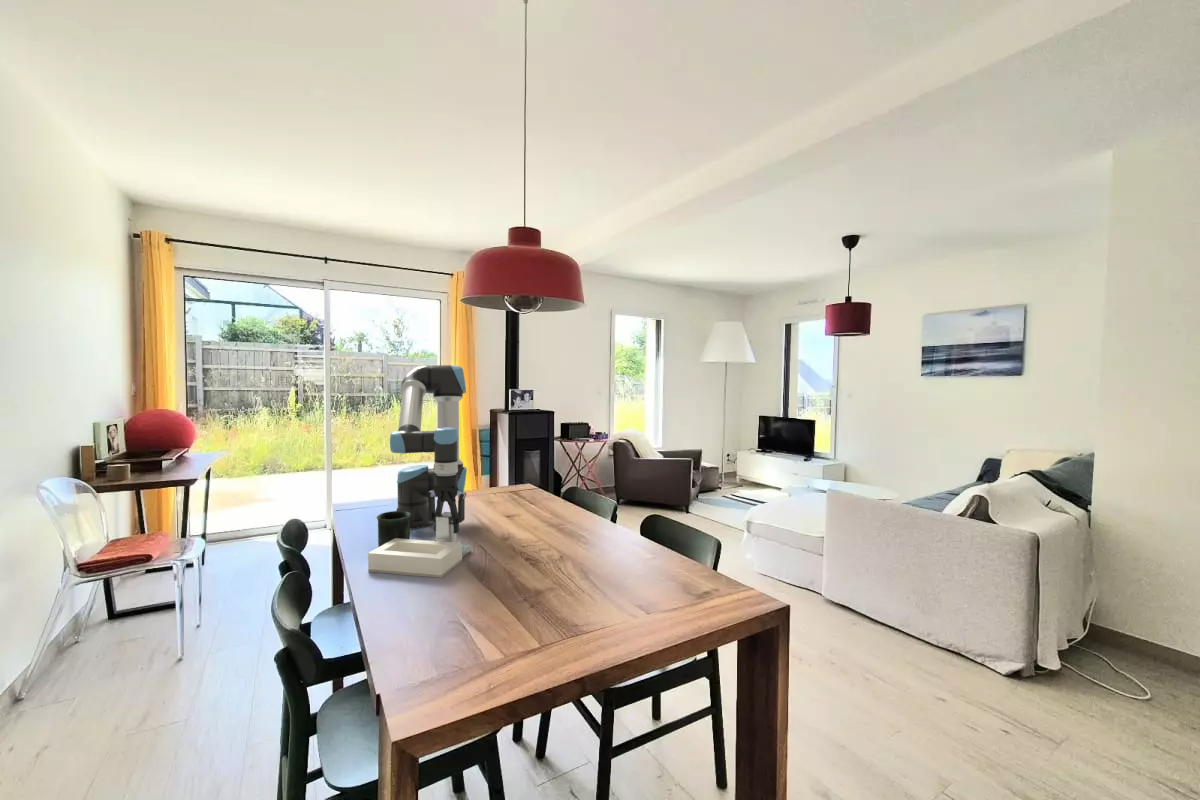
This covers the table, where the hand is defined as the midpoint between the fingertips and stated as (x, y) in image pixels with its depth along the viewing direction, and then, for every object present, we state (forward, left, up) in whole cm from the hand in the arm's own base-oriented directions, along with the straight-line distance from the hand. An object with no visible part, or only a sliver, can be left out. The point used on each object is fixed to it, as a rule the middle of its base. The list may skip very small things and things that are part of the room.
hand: (446, 541), depth 166 cm
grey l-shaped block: (0, +3, -4) cm, 4 cm away
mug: (-1, -21, -4) cm, 21 cm away
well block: (+12, -4, -4) cm, 13 cm away
